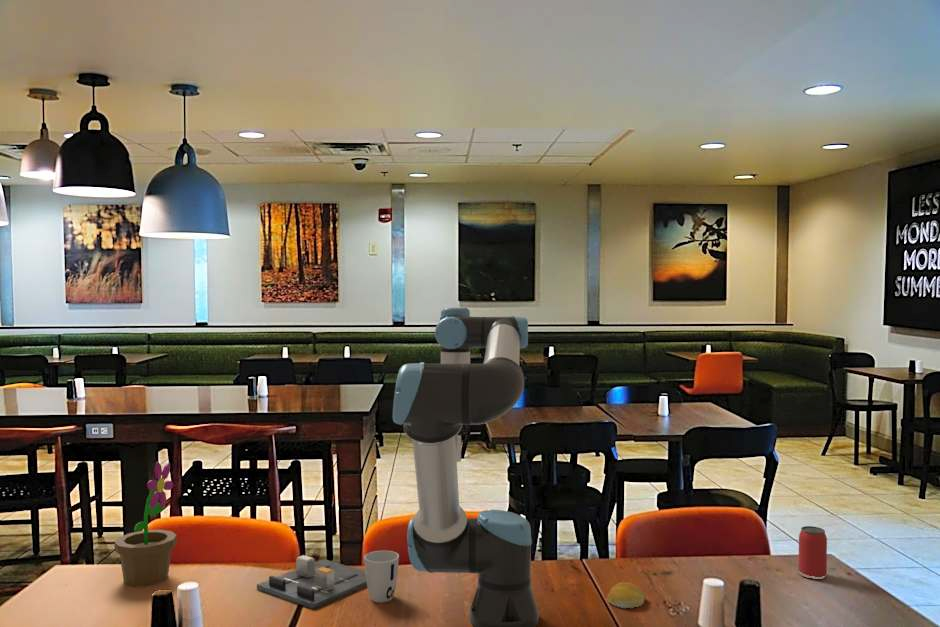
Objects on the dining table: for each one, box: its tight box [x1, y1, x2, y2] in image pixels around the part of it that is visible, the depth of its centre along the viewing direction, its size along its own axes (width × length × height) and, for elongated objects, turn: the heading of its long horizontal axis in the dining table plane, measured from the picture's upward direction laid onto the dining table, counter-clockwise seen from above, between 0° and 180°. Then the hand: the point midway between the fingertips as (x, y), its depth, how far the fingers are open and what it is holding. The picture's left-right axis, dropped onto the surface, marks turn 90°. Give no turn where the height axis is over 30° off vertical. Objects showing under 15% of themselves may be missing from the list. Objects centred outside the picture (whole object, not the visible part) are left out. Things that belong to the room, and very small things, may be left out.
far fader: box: [295, 554, 315, 578], centre depth 190 cm, size 4×2×4 cm, turn 54°
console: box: [256, 558, 367, 610], centre depth 188 cm, size 20×22×3 cm
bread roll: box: [606, 581, 645, 609], centre depth 178 cm, size 8×9×4 cm
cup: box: [363, 550, 400, 603], centre depth 179 cm, size 8×8×10 cm
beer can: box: [798, 525, 828, 577], centre depth 195 cm, size 7×7×12 cm
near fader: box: [315, 567, 334, 591], centre depth 182 cm, size 4×2×4 cm, turn 54°
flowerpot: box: [114, 461, 178, 587], centre depth 191 cm, size 14×14×30 cm
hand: (455, 460), depth 194 cm, fingers closed
